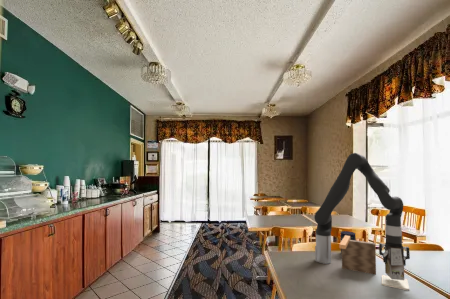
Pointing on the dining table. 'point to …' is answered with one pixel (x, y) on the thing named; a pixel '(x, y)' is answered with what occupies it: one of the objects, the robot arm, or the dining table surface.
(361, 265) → the brown wooden flat panel
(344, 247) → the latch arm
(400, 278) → the coffee box
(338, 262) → the dining table surface
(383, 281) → the cream pad
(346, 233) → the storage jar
